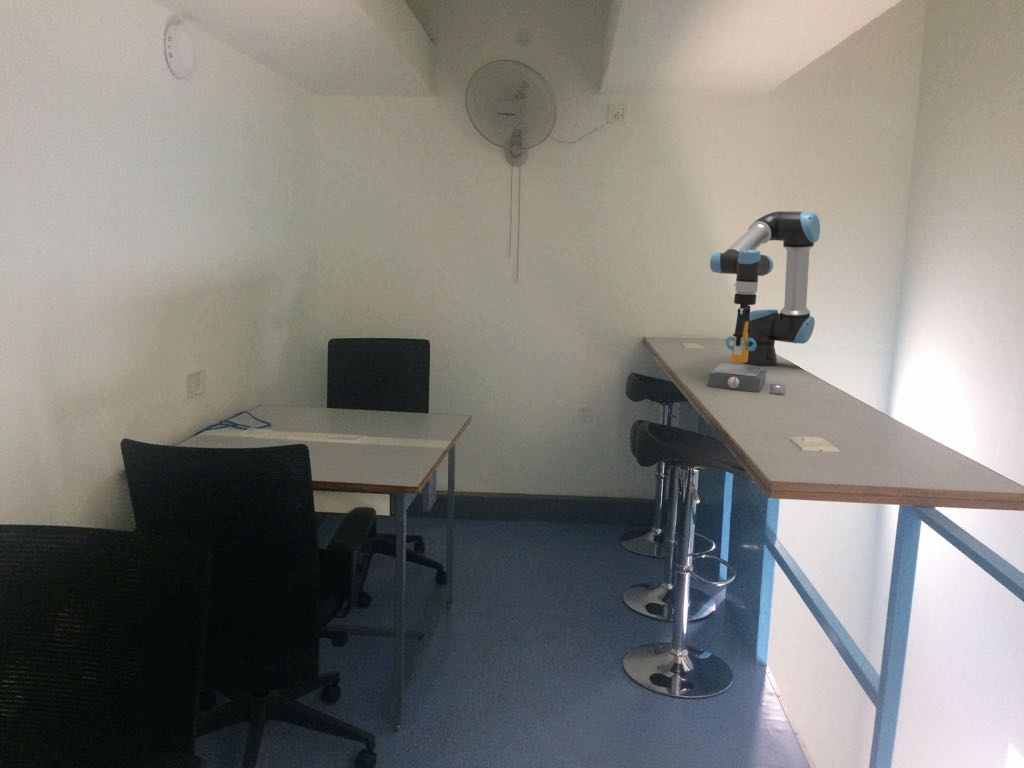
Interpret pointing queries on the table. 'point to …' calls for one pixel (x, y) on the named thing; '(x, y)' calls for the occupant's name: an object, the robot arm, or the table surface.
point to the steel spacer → (777, 389)
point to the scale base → (737, 381)
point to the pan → (738, 369)
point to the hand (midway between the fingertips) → (740, 352)
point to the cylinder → (745, 348)
